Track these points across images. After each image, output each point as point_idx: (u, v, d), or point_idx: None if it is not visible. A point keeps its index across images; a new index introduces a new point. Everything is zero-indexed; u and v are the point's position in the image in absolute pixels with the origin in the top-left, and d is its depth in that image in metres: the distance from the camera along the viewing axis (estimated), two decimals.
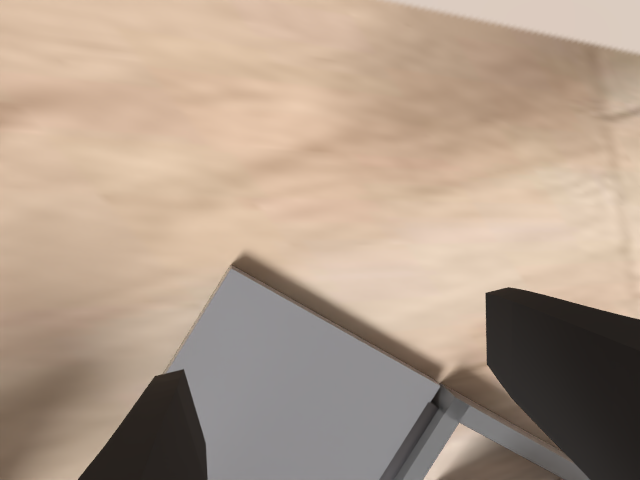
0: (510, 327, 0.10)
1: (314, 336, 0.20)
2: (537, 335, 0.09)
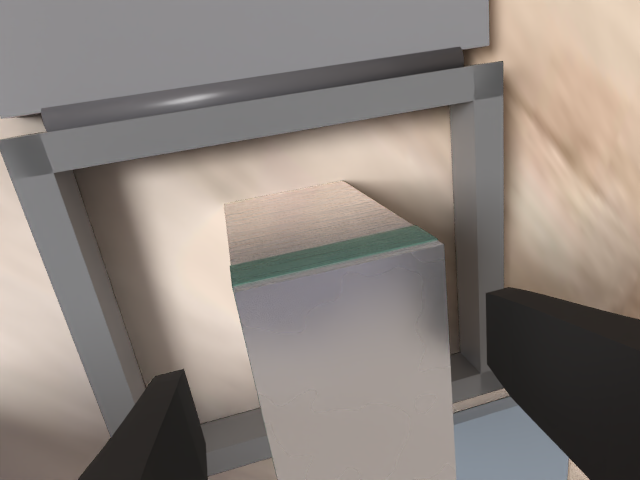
0: (510, 327, 0.10)
1: None
2: (537, 335, 0.09)
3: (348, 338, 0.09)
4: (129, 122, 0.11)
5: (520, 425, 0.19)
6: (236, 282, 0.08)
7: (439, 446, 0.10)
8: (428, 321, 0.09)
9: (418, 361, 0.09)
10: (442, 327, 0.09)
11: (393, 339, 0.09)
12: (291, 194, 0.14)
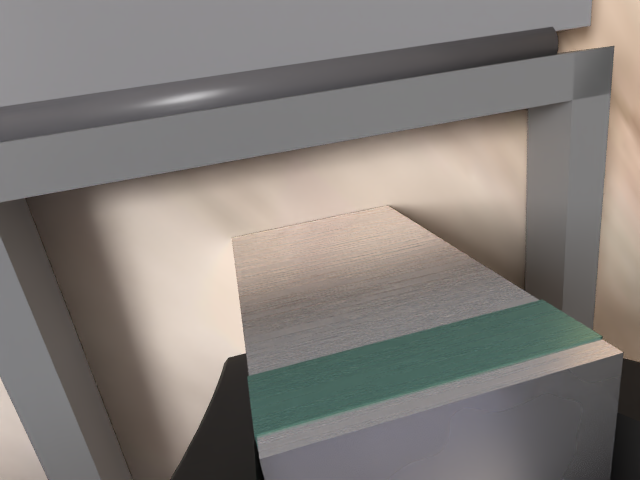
0: None
1: None
2: None
3: None
4: (97, 131, 0.08)
5: None
6: (261, 427, 0.04)
7: None
8: (581, 472, 0.05)
9: None
10: None
11: None
12: (322, 226, 0.10)
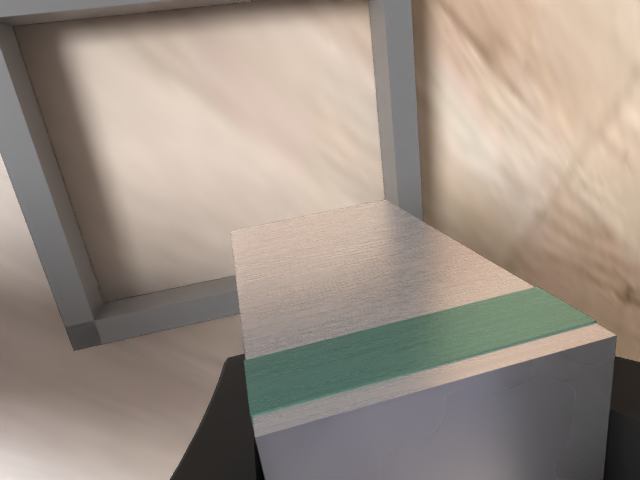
0: None
1: None
2: None
3: None
4: None
5: None
6: (257, 407, 0.05)
7: None
8: (575, 456, 0.05)
9: None
10: (596, 464, 0.05)
11: None
12: (320, 219, 0.10)
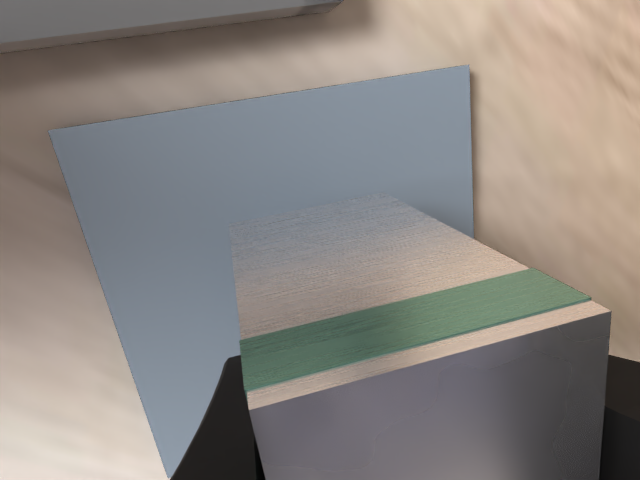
0: None
1: None
2: None
3: (443, 470, 0.05)
4: None
5: (393, 117, 0.13)
6: (252, 383, 0.05)
7: None
8: (572, 435, 0.05)
9: None
10: (593, 443, 0.05)
11: (514, 467, 0.05)
12: (318, 211, 0.10)
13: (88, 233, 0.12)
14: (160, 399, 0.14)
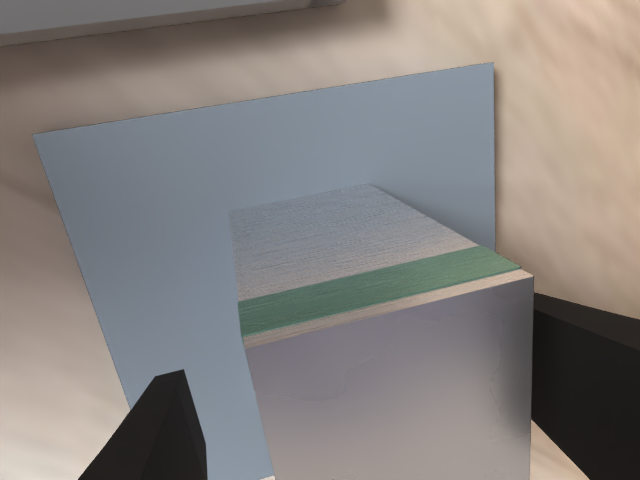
0: None
1: None
2: (537, 335, 0.09)
3: (400, 404, 0.06)
4: None
5: (410, 119, 0.12)
6: (247, 330, 0.06)
7: None
8: (506, 378, 0.07)
9: (490, 429, 0.07)
10: (524, 385, 0.07)
11: (458, 402, 0.06)
12: (308, 200, 0.12)
13: (77, 247, 0.11)
14: None
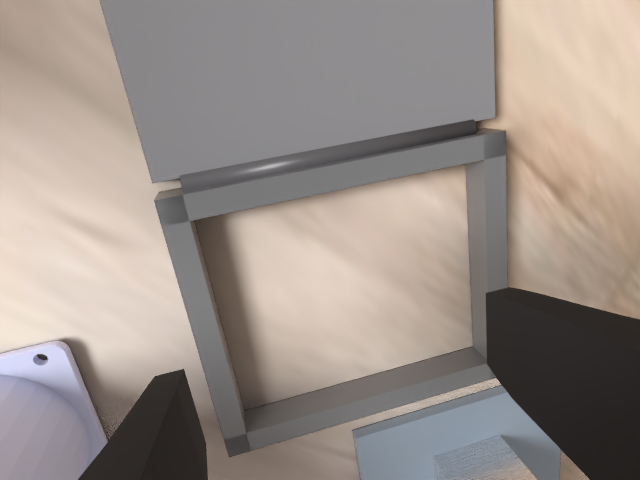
0: (510, 327, 0.10)
1: None
2: (537, 335, 0.09)
3: None
4: (242, 185, 0.16)
5: None
6: None
7: None
8: None
9: None
10: None
11: None
12: (474, 452, 0.24)
13: None
14: None
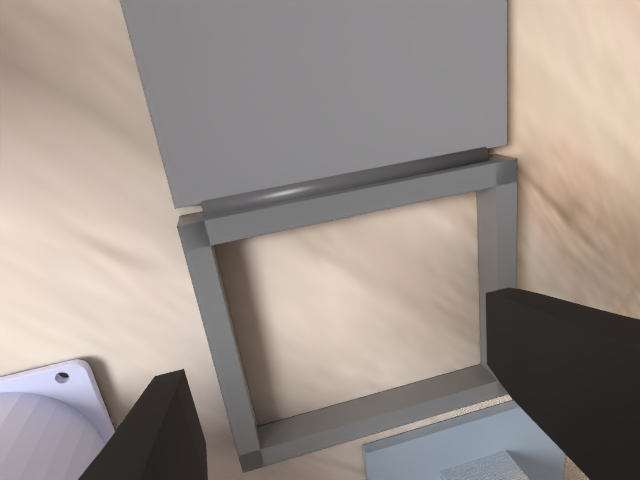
0: (510, 327, 0.10)
1: None
2: (537, 335, 0.09)
3: None
4: (262, 211, 0.17)
5: (527, 421, 0.25)
6: None
7: None
8: None
9: None
10: None
11: None
12: (480, 467, 0.24)
13: None
14: None
